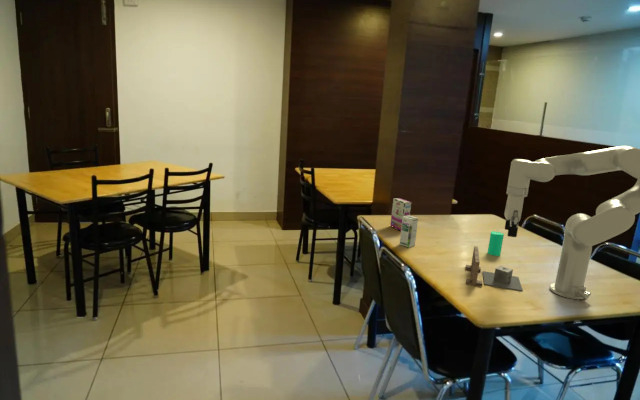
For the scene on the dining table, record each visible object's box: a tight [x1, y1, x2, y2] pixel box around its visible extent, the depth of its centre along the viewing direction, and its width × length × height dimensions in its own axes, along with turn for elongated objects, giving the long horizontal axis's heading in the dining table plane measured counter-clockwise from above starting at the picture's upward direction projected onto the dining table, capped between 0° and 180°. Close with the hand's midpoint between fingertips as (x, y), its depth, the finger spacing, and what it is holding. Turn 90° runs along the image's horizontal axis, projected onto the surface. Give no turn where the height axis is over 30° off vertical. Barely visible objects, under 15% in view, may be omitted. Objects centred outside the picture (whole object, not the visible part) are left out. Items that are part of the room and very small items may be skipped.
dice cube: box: [494, 265, 514, 284], centre depth 172 cm, size 5×5×5 cm
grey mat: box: [482, 270, 524, 292], centre depth 173 cm, size 14×14×1 cm
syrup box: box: [399, 215, 419, 248], centre depth 209 cm, size 6×6×14 cm
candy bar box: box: [390, 197, 412, 232], centre depth 236 cm, size 11×5×16 cm, turn 25°
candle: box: [487, 230, 505, 257], centre depth 205 cm, size 6×6×12 cm
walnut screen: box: [465, 245, 483, 287], centre depth 175 cm, size 20×6×10 cm, turn 162°
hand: (510, 233), depth 169 cm, fingers open, 9 cm apart
